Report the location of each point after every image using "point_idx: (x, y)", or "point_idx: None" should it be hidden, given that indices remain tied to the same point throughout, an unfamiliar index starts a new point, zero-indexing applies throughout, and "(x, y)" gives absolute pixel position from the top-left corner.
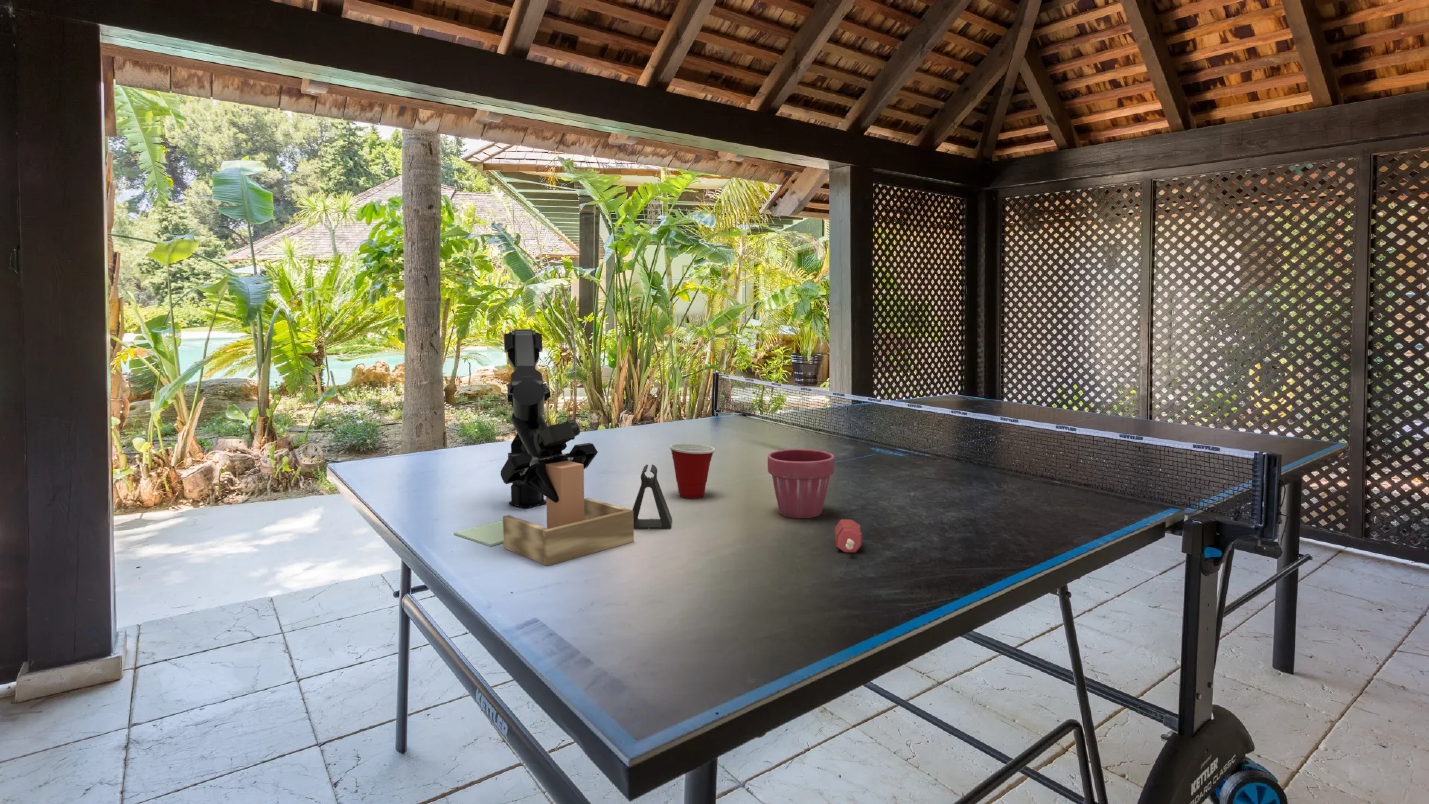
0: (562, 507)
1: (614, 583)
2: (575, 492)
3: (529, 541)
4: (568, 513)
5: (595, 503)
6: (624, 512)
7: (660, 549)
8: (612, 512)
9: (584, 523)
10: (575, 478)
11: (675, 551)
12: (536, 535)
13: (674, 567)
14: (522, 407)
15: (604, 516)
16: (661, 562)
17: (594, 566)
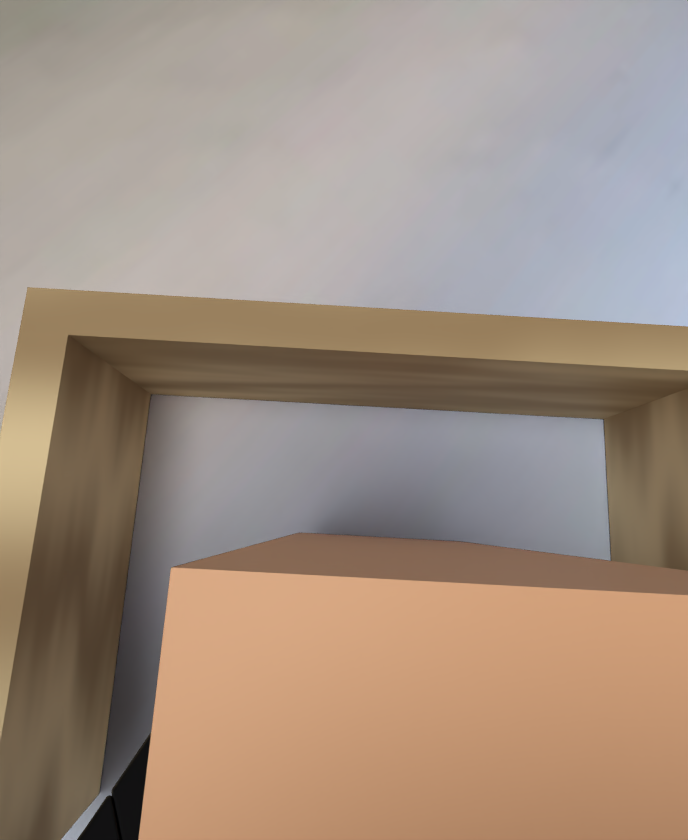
0: (525, 550)
1: (552, 57)
2: (394, 547)
3: None
4: (445, 544)
5: (8, 724)
6: (107, 298)
7: (139, 188)
8: (67, 482)
9: (468, 317)
10: (422, 558)
11: (121, 125)
12: None
13: (280, 12)
14: None
15: (277, 324)
16: (269, 80)
17: (490, 238)
